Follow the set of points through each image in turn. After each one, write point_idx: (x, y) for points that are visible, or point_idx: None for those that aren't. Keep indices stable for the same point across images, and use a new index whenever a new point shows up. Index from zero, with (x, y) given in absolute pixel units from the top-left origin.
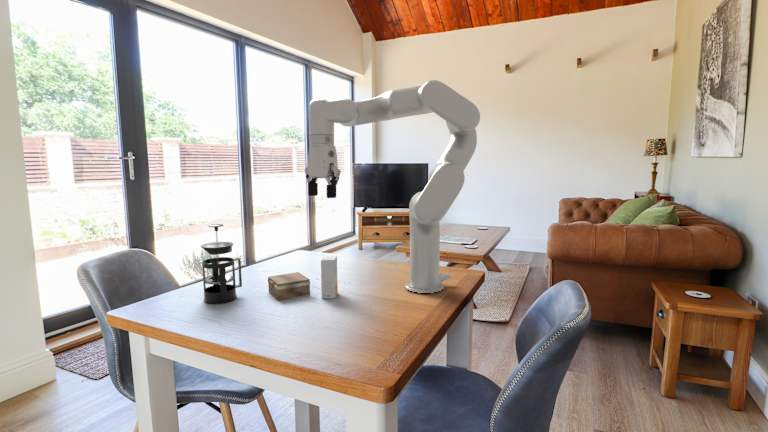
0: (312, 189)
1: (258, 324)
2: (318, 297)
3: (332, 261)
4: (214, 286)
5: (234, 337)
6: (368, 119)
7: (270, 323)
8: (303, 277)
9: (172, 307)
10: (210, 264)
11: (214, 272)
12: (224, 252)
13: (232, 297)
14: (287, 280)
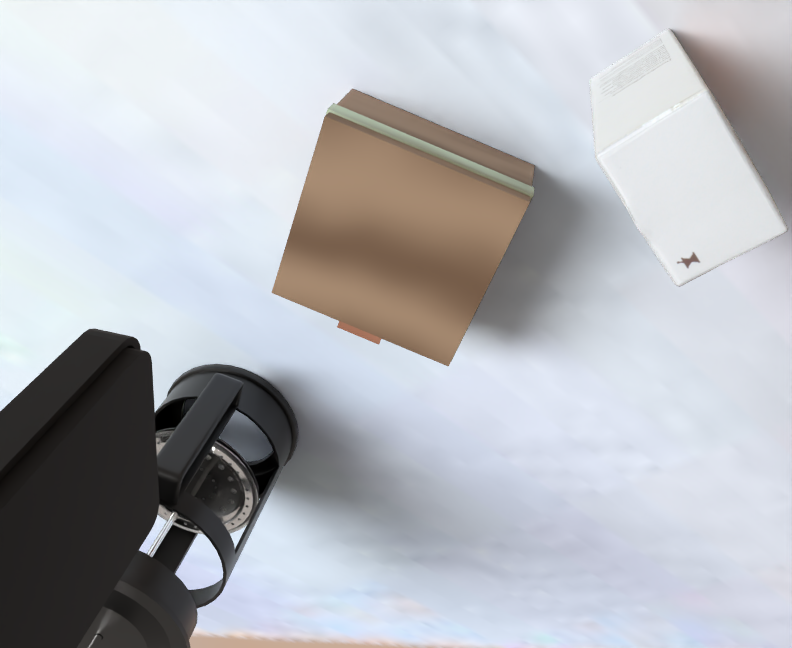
0: (83, 574)
1: (619, 529)
2: None
3: (769, 237)
4: None
5: (636, 618)
6: None
7: (656, 508)
8: (462, 193)
9: (199, 540)
10: (198, 606)
11: None
12: (194, 615)
13: (285, 420)
14: (430, 290)
